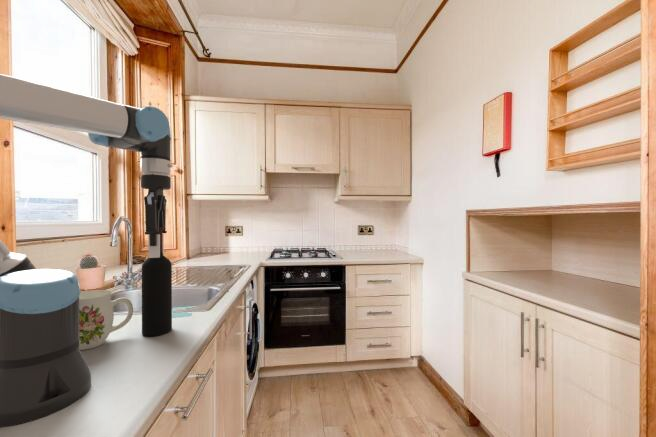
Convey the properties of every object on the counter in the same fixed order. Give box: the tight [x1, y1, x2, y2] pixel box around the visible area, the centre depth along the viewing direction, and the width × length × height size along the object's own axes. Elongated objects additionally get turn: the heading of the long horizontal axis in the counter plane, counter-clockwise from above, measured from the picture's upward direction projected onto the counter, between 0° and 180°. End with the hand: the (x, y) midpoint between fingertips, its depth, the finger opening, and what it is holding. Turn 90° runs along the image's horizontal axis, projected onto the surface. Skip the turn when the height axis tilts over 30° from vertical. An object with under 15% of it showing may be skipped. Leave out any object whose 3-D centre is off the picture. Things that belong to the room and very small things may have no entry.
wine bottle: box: [141, 227, 173, 337], centre depth 88 cm, size 8×8×30 cm
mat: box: [172, 305, 197, 319], centre depth 107 cm, size 12×12×1 cm
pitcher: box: [79, 289, 134, 351], centre depth 81 cm, size 11×18×14 cm, turn 131°
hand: (156, 256), depth 88 cm, fingers closed on wine bottle, 3 cm apart
